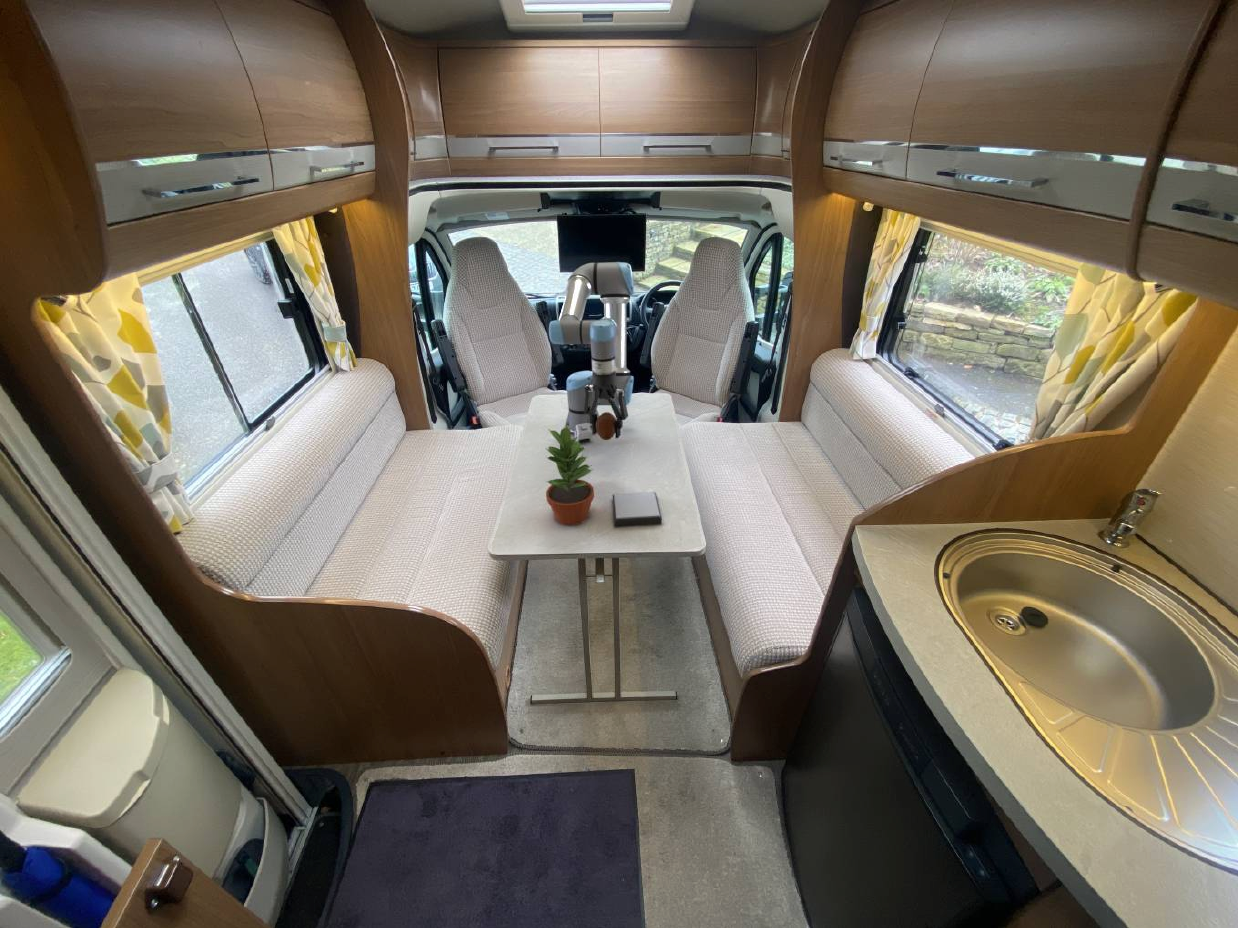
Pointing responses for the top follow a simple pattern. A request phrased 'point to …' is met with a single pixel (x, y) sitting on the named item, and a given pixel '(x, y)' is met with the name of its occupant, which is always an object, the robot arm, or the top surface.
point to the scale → (636, 509)
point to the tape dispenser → (583, 433)
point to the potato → (605, 425)
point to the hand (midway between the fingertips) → (606, 434)
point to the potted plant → (569, 481)
